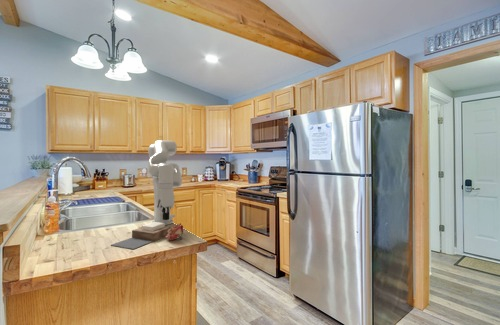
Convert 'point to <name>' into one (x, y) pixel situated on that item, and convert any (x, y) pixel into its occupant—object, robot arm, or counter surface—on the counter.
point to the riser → (150, 234)
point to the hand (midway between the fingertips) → (166, 219)
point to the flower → (175, 232)
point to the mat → (132, 243)
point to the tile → (153, 226)
